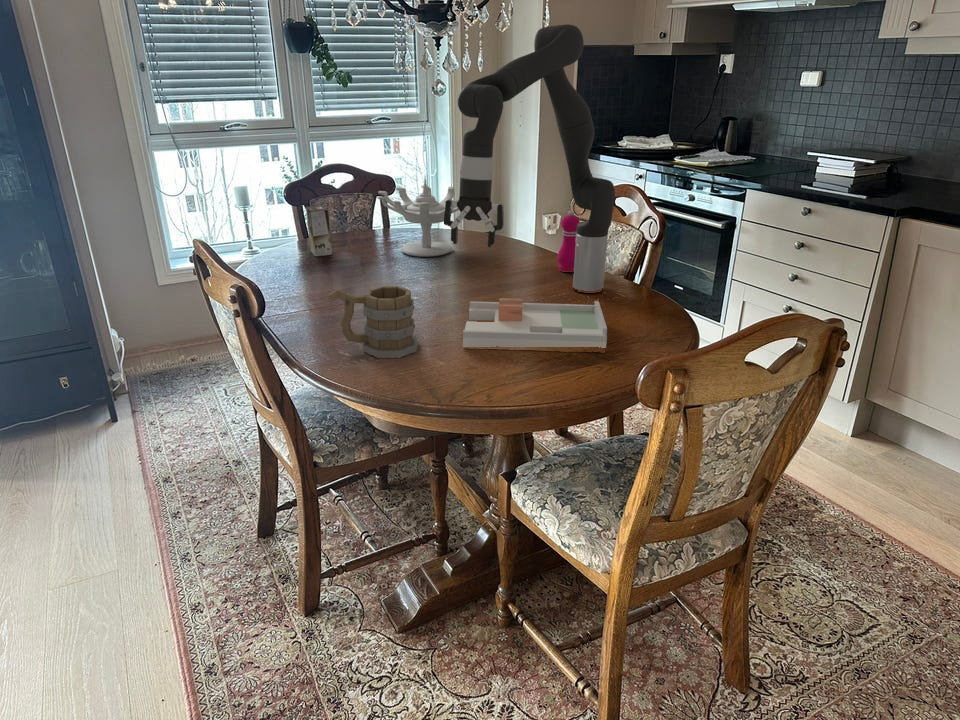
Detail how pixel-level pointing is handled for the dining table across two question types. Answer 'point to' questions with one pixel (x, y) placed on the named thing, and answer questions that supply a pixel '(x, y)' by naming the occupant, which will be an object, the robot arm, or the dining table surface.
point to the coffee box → (319, 230)
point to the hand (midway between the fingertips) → (472, 245)
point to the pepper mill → (568, 242)
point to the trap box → (537, 326)
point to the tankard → (381, 321)
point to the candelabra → (422, 219)
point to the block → (510, 309)
